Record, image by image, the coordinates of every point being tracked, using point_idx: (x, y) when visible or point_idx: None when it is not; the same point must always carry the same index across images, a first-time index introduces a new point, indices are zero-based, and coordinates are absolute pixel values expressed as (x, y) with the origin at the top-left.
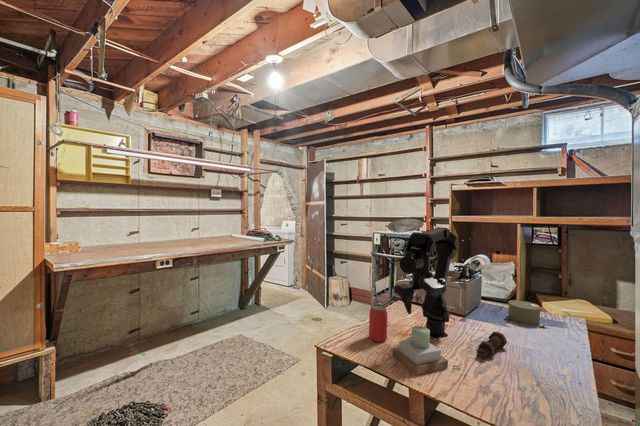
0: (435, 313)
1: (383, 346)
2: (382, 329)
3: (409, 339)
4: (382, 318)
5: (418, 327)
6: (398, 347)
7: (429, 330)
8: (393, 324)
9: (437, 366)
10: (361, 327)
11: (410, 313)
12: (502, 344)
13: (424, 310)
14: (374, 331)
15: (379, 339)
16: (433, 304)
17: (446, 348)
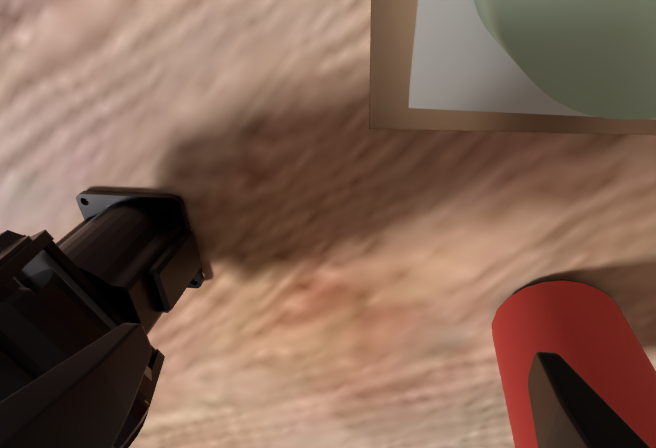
0: (70, 316)
1: (606, 236)
2: (605, 347)
3: (574, 114)
4: (650, 438)
5: (616, 61)
6: (627, 132)
7: None
8: (325, 390)
9: None
10: None
11: (552, 359)
12: None
13: (145, 389)
14: (646, 357)
15: (598, 296)
16: (31, 386)
17: (180, 56)
